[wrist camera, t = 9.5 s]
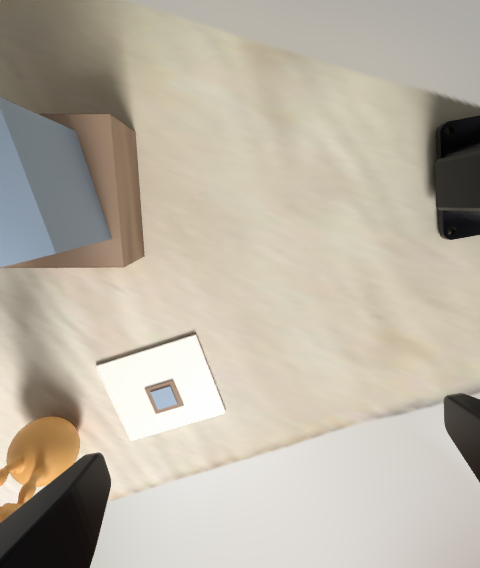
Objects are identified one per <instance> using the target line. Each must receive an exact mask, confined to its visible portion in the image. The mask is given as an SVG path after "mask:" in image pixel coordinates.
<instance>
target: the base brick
mask: <svg viewBox="0 0 480 568" xmlns="http://www.w3.org/2000/svg"><path fill="white" fill-rule="evenodd" d="M39 115H41V116H43V117H45V118H48V119H50V120H52V121H54V122H57V123H59V124H61V125H63V126H65V127H68V128H70V129H72V130H74V131H76V133H77V136H78V139H79V142H80V145H81V148H82V151H83V154H84V157H85V160H86V163H87V166H88V169H89V172H90V175H91V178H92V181H93V184H94V187H95V190H96V193H97V196H98V199H99V202H100V205H101V208H102V211H103V214H104V217H105V220H106V223H107V226H108V229H109V232H110V235H111V238H112V239H109V240H105V241H102V242H98V243H94V244H91V245H87V246H83V247H79V248H76V249H72V250H68V251H64V252H61V253H57V254H53V255H49V256H45V257H41V258H37V259H33V260H29V261H25V262H21V263H17V264H13V265H9V266H5V267H1V268H101V267H125V266H127V265H129V264H131V263H133V262H134V261H136V260H138V259H140V258H142V257H144V243H143V230H142V216H141V202H140V188H139V174H138V160H137V147H136V133H135V132H134V131H133V130H132V129H130V128H129V127H127V126H126V125H125V124H123V123H122V122H120V121H119V120H118V119H116V118H115V117H113V116H112V115H111V114H39Z"/></svg>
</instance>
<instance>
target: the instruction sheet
mask: <svg viewBox="0 0 480 568" xmlns="http://www.w3.org/2000/svg"><path fill="white" fill-rule="evenodd" d="M95 367H96V369H97V372H98V374H99V376H100V378H101V380H102V382H103V384H104V386H105V388H106V390H107V392H108V395H109V397H110V399H111V401H112V403H113V405H114V407H115V409H116V411H117V413H118V415H119V418H120V420H121V422H122V424H123V426H124V428H125V430H126V432H127V434H128V436H129V438H130V441H133V440H136V439H140V438H143V437H147V436H150V435H153V434H157V433H160V432H163V431H167V430H170V429H174V428H177V427H180V426H184V425H187V424H190V423H194V422H197V421H201V420H204V419H207V418H211V417H214V416H217V415H221V414H224V413H226V410H225V408H224V405H223V402H222V400H221V397H220V395H219V392H218V389H217V387H216V384H215V382H214V379H213V377H212V374H211V371H210V369H209V366H208V364H207V361H206V358H205V356H204V353H203V351H202V348H201V346H200V343H199V340H198V338H197V335H196V334H194V335H191V336H188V337H185V338H181V339H178V340H175V341H172V342H169V343H166V344H162V345H159V346H156V347H153V348H150V349H147V350H143V351H140V352H137V353H134V354H131V355H128V356H124V357H121V358H118V359H115V360H112V361H109V362H105V363H102V364H99V365H96V366H95Z"/></svg>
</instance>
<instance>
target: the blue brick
mask: <svg viewBox="0 0 480 568" xmlns="http://www.w3.org/2000/svg"><path fill="white" fill-rule="evenodd" d="M109 239H112V238H111V235H110V232H109V229H108V226H107V223H106V220H105V217H104V214H103V211H102V208H101V205H100V202H99V199H98V196H97V193H96V190H95V187H94V184H93V181H92V178H91V175H90V172H89V169H88V166H87V163H86V160H85V157H84V154H83V151H82V148H81V145H80V142H79V139H78V136H77V133H76V131H74V130H72V129H70V128H68V127H65V126H63V125H61V124H59V123H57V122H54V121H52V120H50V119H48V118H45V117H43V116H41V115H39V114H37V113H34V112H32V111H30V110H28V109H26V108H23V107H21V106H19V105H17V104H14V103H12V102H10V101H8V100H6V99H3V98H1V97H0V268H1V267H5V266H9V265H13V264H17V263H21V262H25V261H29V260H33V259H37V258H41V257H45V256H49V255H53V254H57V253H61V252H64V251H68V250H72V249H76V248H79V247H83V246H87V245H91V244H94V243H98V242H102V241H105V240H109Z"/></svg>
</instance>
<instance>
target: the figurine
mask: <svg viewBox="0 0 480 568" xmlns="http://www.w3.org/2000/svg"><path fill="white" fill-rule="evenodd" d="M79 448H80V439H79V435H78V432H77V430H76V428H75V427H74V426H73V425H72V424H71V423H70V422H69V421H67V420H66V419H63V418H60V417H53V416H51V417H43V418H40V419H37V420H34V421H32V422H31V423H29V424H27V425H26V426H25V427H23V428H22V429H21V430H20V431H19V432H18V433H17V434H16V436H15V437H14V439H13V440H12V442H11V444H10V446H9V449H8V453H7V465H6V466H5V467H4V468H3V469H1V470H0V486H1V485H2V484H3V483H4V482H5V481H6V479H7V476H8V474H9V473H10V474H11V476H12V477H13V478H14V479H15V480H16V481H17V482H19V483H20V484H22V485H24V486H23V487H22V488H21V490H20V493H19V497H18V503H17V504H11V503H6V504H4V505H3V506H2V507H0V523H1V522H2V521H3V520H4V519H6V518H7V517H8V516H9V515H11V514H12V513H13V512H14V511H15V510H17V509H18V508H19V507H20V506H22V505H23V504H24V503H25V502H27V501H28V500H29V499H30V498H31V497H32V496H33V495H34V493H35V490H36V487H40V486H45V485H48V484H49V483H50V482H52V481H53V480H54V479H55V478H57V477H58V476H59V475H60V474H62V473H63V472H64V471H65V470H67V469H68V468H69V467H70V466H72V465H73V464H74V462H75V461H76V458H77V456H78V453H79Z"/></svg>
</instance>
